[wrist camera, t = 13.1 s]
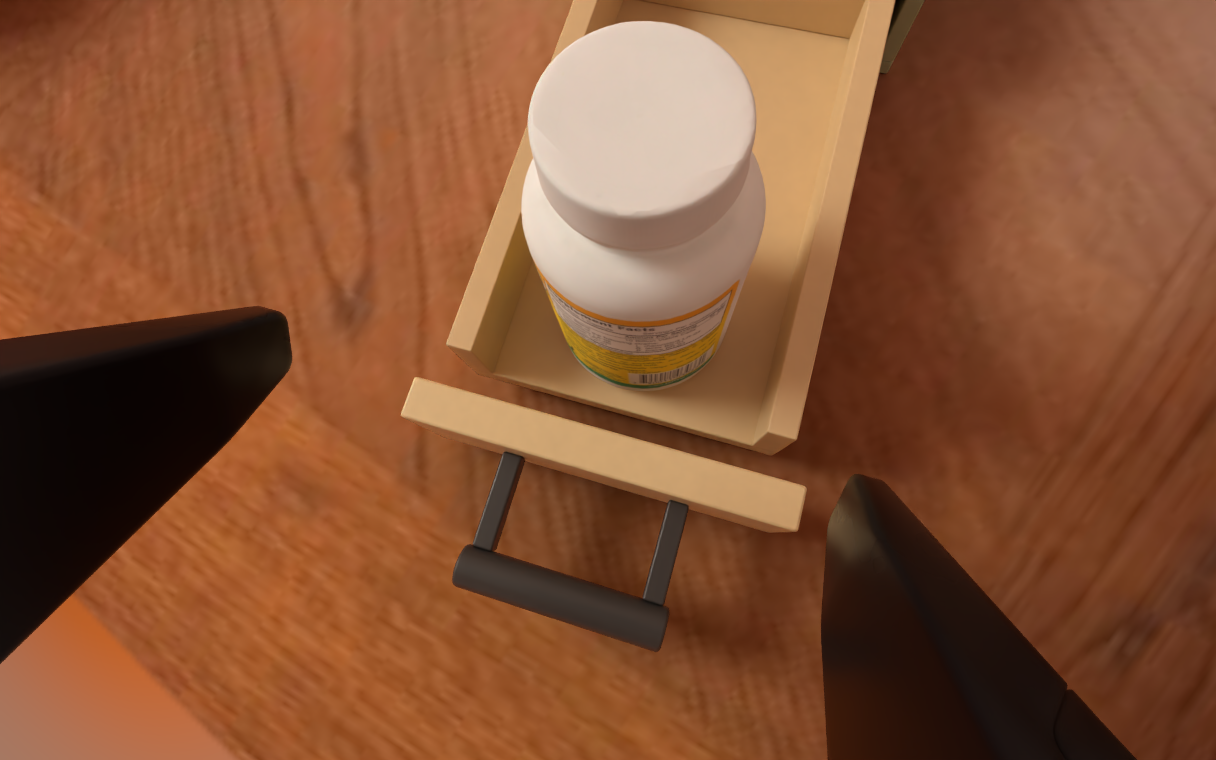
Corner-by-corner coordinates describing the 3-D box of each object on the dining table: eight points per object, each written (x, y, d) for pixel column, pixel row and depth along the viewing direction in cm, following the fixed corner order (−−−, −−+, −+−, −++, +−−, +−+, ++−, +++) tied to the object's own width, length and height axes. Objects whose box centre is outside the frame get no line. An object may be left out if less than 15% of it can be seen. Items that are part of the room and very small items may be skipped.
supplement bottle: (676, 425, 19) (702, 315, 9) (530, 343, 20) (425, 172, 10) (756, 283, 20) (853, 57, 10) (614, 212, 21) (587, -52, 11)
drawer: (740, 668, 18) (762, 700, 14) (398, 557, 19) (343, 561, 16) (880, 49, 23) (921, -38, 19) (599, -2, 24) (590, -92, 21)
